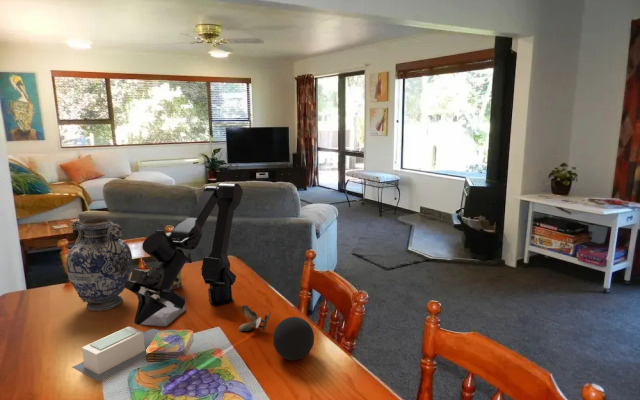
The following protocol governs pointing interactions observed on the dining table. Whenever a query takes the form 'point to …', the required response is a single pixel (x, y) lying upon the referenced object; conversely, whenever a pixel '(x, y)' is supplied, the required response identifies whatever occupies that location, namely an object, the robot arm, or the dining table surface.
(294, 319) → the speaker
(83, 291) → the decorative vase
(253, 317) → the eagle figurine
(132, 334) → the tall block
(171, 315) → the stone block
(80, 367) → the mat
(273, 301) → the dining table surface
